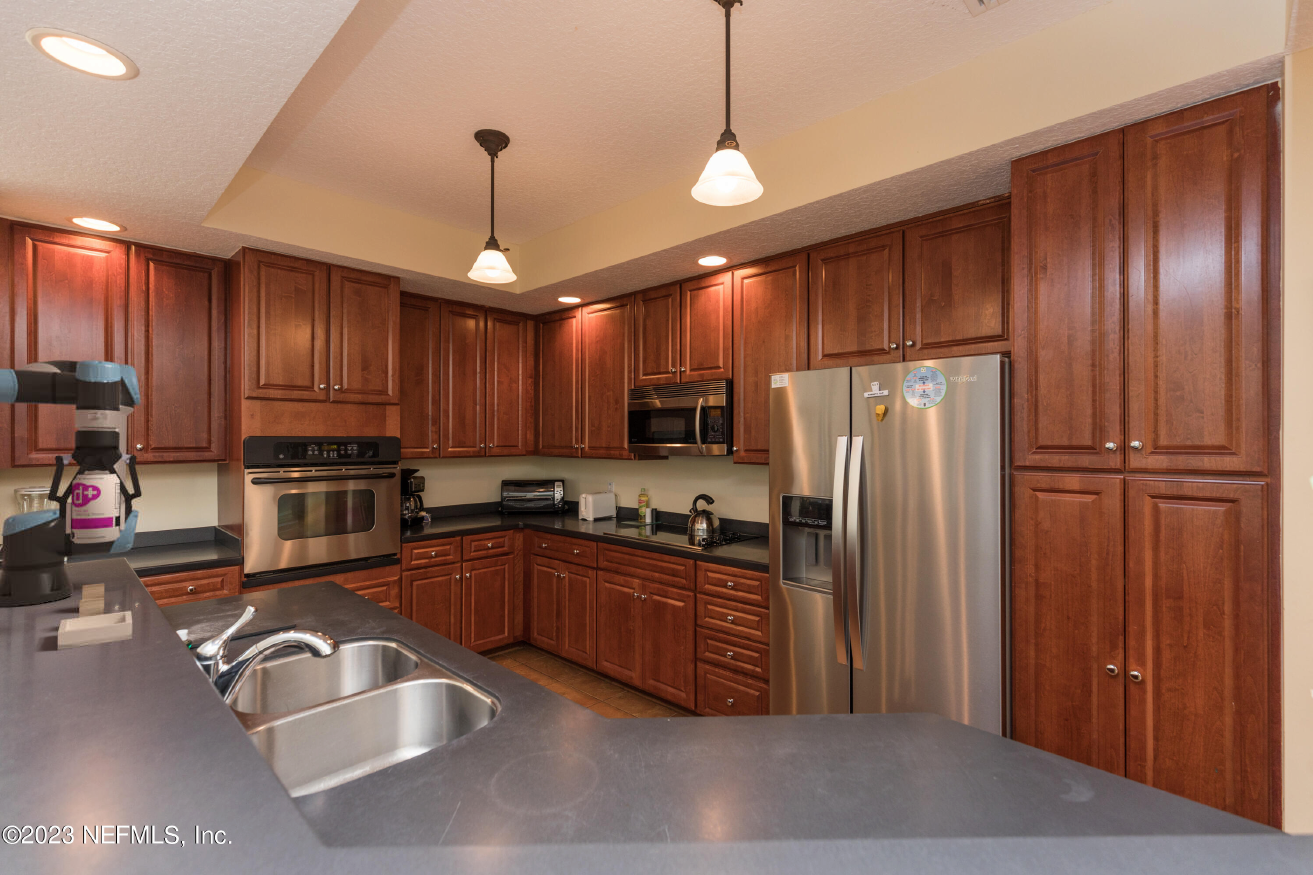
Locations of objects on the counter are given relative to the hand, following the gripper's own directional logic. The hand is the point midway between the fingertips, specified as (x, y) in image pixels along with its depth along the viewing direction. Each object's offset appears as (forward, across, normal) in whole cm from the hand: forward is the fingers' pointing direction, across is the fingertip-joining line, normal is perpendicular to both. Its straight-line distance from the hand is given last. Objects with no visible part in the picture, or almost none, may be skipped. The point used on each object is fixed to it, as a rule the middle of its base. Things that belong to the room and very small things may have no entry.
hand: (96, 530), depth 139 cm
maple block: (+22, -1, +22) cm, 31 cm away
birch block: (+22, 0, +4) cm, 22 cm away
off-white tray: (+22, 0, -7) cm, 23 cm away
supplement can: (+2, 0, 0) cm, 2 cm away
